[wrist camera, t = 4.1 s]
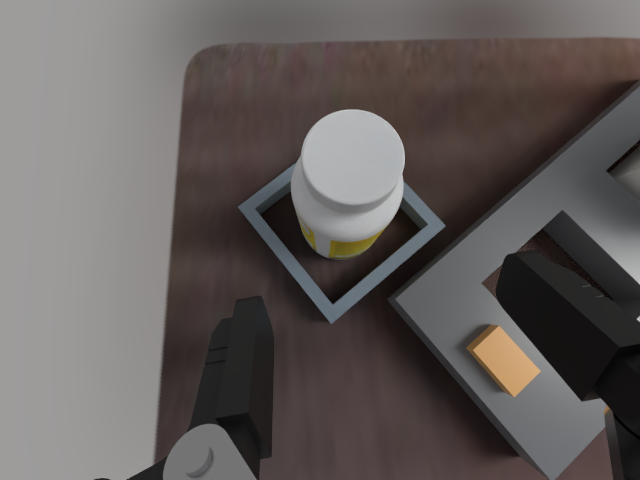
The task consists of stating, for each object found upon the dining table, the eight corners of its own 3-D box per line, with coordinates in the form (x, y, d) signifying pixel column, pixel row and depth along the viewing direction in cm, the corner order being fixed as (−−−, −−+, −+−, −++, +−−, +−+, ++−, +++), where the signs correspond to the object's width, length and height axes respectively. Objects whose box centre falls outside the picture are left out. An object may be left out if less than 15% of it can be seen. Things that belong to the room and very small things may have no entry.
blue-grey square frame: (347, 134, 22) (348, 122, 21) (437, 231, 21) (446, 225, 19) (243, 213, 21) (237, 207, 19) (330, 322, 19) (331, 324, 18)
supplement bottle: (391, 208, 21) (449, 131, 11) (355, 275, 20) (384, 253, 10) (324, 173, 22) (325, 71, 12) (286, 236, 21) (254, 182, 11)
